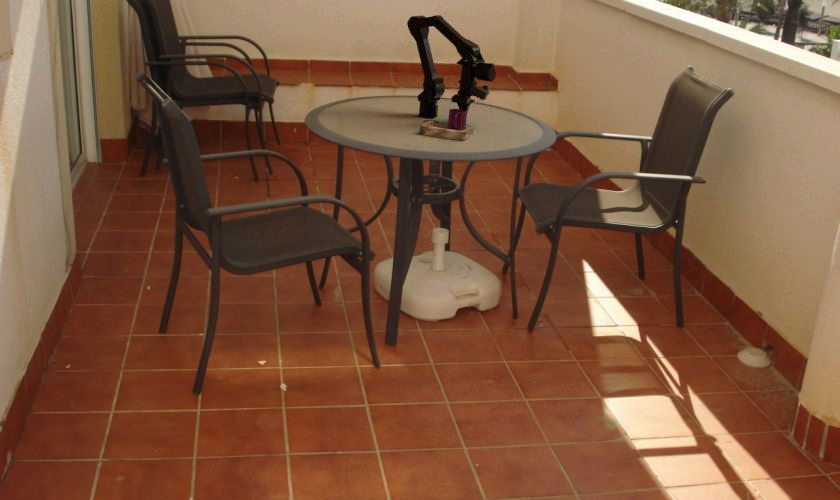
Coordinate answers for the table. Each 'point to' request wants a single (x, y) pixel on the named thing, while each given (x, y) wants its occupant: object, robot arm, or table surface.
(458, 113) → the mug
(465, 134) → the brown bracket-shaped piece
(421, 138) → the table surface
